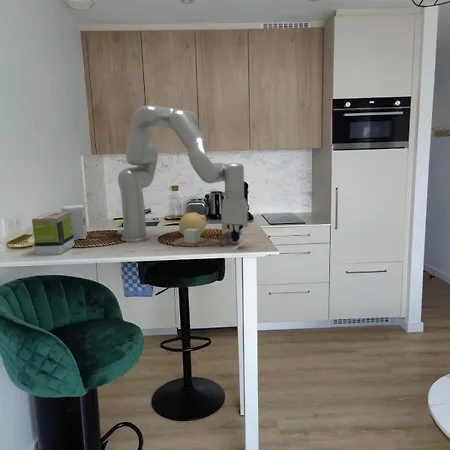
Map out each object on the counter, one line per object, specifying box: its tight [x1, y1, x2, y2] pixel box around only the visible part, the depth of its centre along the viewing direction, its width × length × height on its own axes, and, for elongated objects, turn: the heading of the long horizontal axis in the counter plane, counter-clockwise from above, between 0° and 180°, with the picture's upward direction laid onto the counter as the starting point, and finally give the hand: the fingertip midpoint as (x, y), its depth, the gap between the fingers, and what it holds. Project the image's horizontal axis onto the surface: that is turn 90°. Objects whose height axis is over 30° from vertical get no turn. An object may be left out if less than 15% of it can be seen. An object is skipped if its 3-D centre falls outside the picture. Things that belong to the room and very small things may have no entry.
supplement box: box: [60, 204, 88, 241], centre depth 193 cm, size 9×9×15 cm
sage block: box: [183, 228, 201, 243], centre depth 176 cm, size 5×5×5 cm
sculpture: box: [178, 212, 207, 236], centre depth 193 cm, size 12×12×11 cm
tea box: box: [31, 211, 76, 256], centre depth 171 cm, size 15×10×15 cm, turn 178°
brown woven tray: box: [168, 231, 232, 248], centre depth 175 cm, size 24×12×5 cm, turn 70°
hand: (235, 241), depth 170 cm, fingers closed
